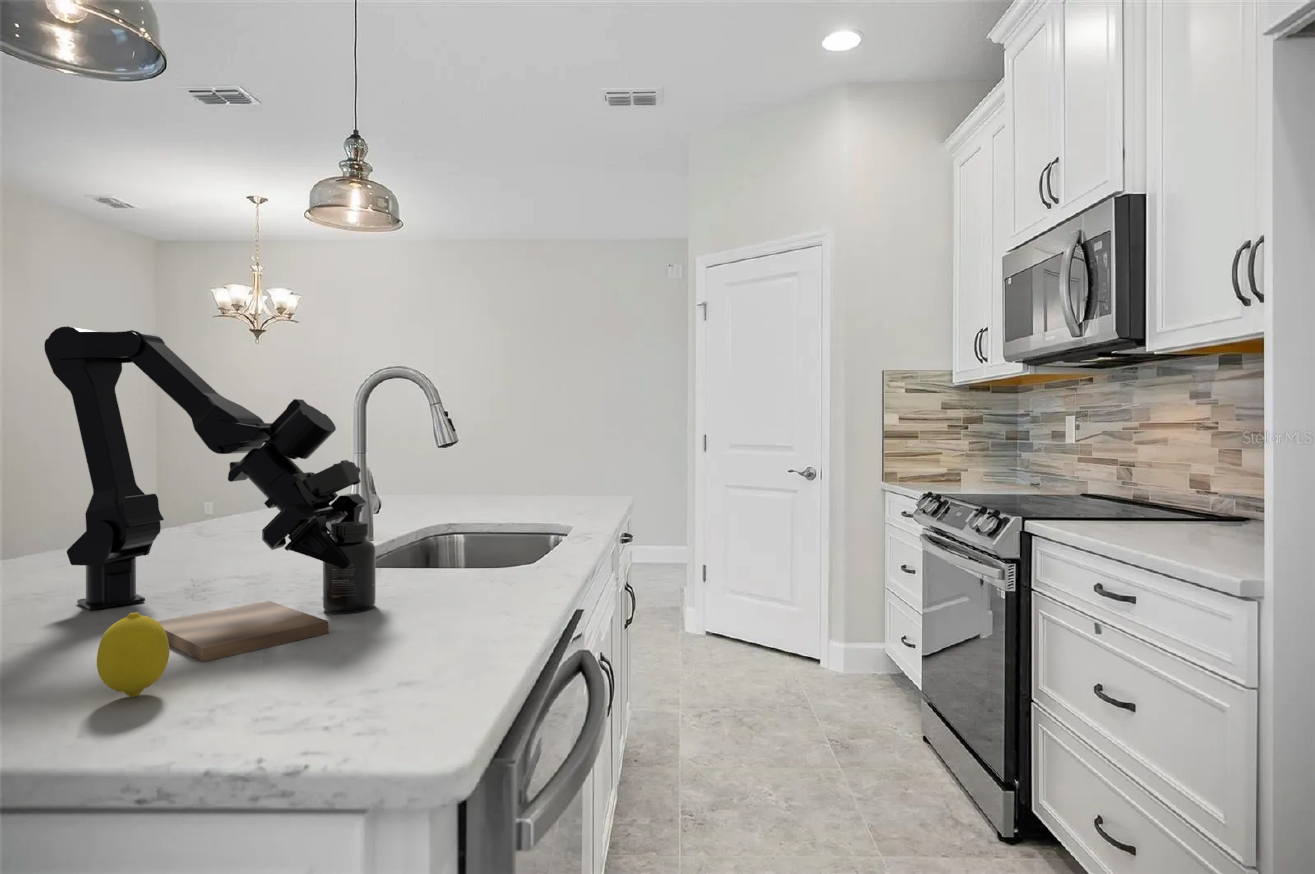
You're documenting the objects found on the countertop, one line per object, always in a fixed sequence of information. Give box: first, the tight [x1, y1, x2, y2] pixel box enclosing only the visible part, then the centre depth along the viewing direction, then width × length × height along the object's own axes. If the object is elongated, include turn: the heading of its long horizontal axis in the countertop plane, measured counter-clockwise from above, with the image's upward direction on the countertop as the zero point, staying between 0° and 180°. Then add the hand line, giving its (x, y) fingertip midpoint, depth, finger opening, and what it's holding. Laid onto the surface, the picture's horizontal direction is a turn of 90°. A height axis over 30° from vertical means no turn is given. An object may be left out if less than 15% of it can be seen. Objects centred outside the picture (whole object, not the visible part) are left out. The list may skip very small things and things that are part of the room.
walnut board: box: [156, 600, 330, 663], centre depth 88 cm, size 16×14×2 cm
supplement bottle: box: [322, 521, 377, 614], centre depth 101 cm, size 7×7×12 cm
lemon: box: [96, 612, 170, 698], centre depth 68 cm, size 6×6×8 cm
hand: (359, 561), depth 101 cm, fingers closed on supplement bottle, 7 cm apart
